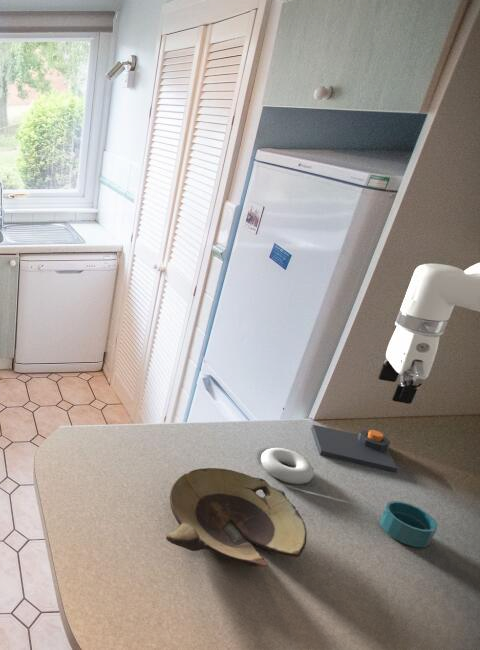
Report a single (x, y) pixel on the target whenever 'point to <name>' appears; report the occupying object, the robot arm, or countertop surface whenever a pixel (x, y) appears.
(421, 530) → the small bowl
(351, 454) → the scale
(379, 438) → the tare button
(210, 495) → the broken ceramic bowl
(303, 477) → the donut
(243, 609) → the countertop surface
